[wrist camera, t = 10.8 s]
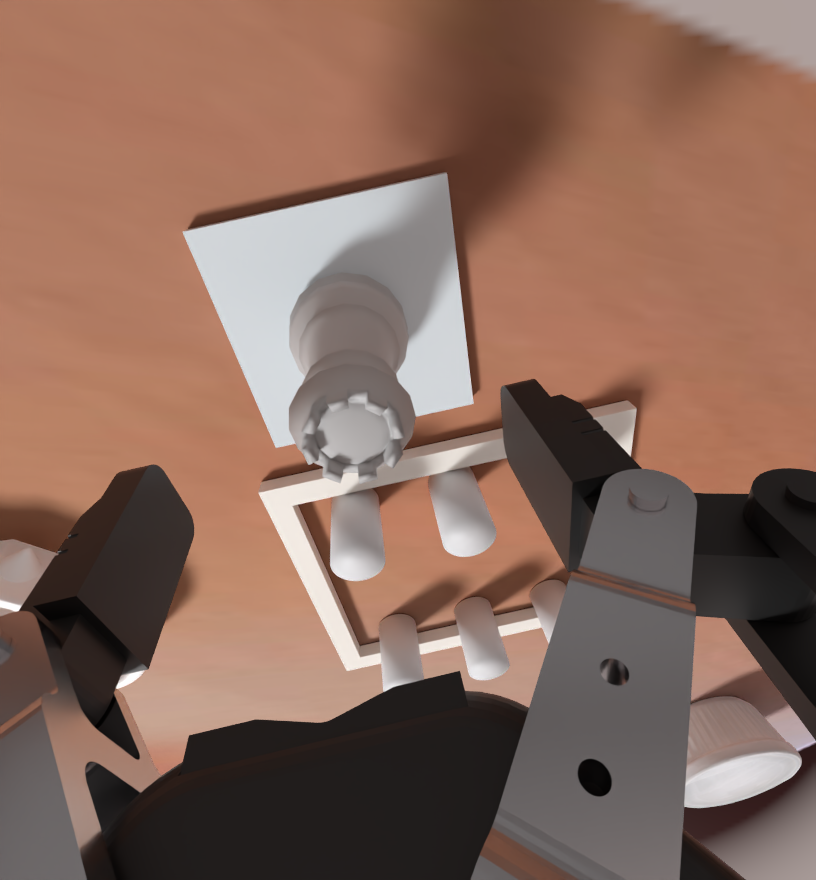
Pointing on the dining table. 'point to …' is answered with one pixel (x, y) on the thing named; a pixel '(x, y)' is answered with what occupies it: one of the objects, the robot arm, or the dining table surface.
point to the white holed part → (28, 580)
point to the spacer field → (461, 535)
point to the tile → (330, 252)
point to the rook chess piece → (350, 376)
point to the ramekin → (733, 753)
